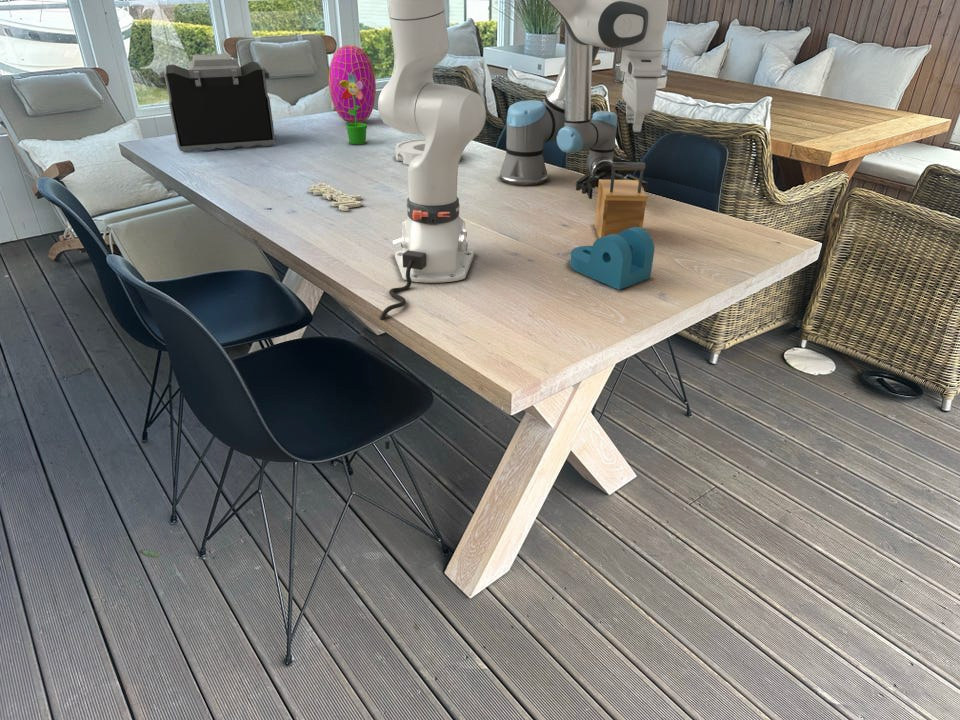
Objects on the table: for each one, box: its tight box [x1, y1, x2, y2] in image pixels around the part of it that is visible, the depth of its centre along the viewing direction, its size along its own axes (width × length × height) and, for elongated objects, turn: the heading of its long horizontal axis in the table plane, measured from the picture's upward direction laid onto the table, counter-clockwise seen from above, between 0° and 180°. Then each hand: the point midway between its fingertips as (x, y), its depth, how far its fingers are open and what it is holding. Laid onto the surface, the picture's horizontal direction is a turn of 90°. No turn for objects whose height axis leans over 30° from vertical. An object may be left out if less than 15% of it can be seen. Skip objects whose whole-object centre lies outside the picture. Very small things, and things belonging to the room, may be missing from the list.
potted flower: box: [339, 73, 368, 145], centre depth 255 cm, size 9×8×25 cm
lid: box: [599, 161, 648, 202], centre depth 171 cm, size 14×10×8 cm
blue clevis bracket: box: [569, 227, 655, 291], centre depth 155 cm, size 18×10×10 cm, turn 39°
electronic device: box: [159, 53, 276, 153], centre depth 251 cm, size 37×22×30 cm, turn 111°
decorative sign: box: [308, 182, 362, 212], centre depth 203 cm, size 26×1×10 cm
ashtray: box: [394, 138, 462, 166], centre depth 243 cm, size 23×23×4 cm
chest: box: [594, 185, 647, 239], centre depth 176 cm, size 13×10×11 cm
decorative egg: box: [328, 44, 377, 124], centre depth 286 cm, size 19×19×30 cm
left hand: (633, 126), depth 161 cm, fingers open, 8 cm apart
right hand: (615, 194), depth 188 cm, fingers open, 13 cm apart
